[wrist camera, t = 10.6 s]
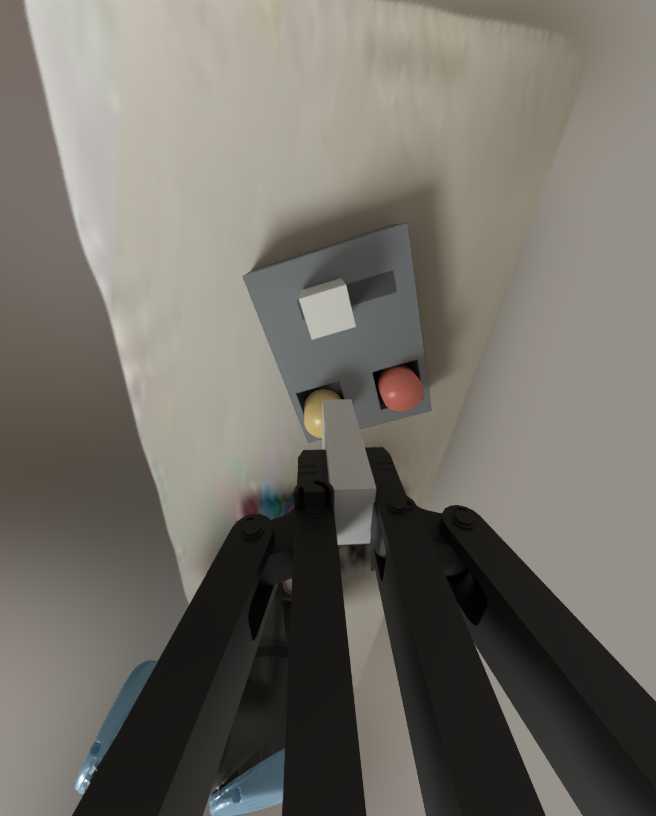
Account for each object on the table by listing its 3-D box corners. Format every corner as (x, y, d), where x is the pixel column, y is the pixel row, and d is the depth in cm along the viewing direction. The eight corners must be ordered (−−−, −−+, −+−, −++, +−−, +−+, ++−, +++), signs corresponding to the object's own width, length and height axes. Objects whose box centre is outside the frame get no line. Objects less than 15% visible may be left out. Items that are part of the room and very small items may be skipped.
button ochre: (346, 416, 33) (349, 432, 30) (311, 426, 33) (311, 442, 30) (337, 384, 31) (339, 398, 28) (299, 395, 31) (298, 409, 29)
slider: (350, 315, 27) (356, 326, 24) (311, 326, 27) (311, 339, 24) (341, 277, 26) (345, 284, 22) (300, 290, 26) (298, 299, 22)
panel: (420, 393, 36) (431, 410, 33) (308, 423, 38) (308, 443, 34) (395, 224, 28) (407, 222, 24) (250, 271, 29) (242, 276, 25)
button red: (416, 392, 33) (425, 405, 30) (380, 401, 33) (386, 416, 31) (411, 358, 31) (420, 369, 28) (373, 369, 31) (379, 381, 29)
